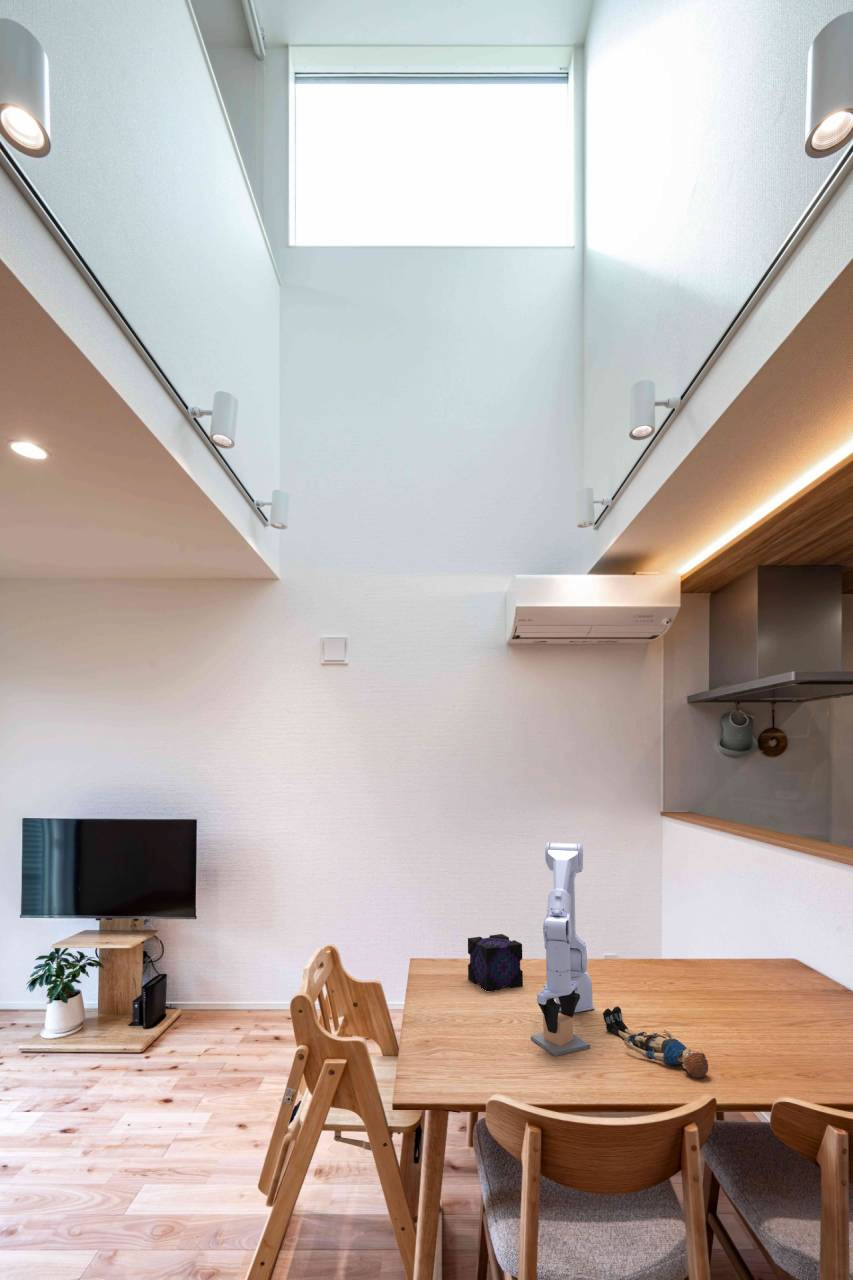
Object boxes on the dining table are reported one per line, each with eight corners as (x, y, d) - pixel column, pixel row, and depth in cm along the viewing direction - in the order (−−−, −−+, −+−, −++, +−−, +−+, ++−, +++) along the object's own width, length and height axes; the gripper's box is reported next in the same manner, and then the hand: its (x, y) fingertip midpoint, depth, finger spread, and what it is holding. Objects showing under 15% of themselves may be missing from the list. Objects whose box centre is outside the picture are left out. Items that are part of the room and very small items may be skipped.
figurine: (630, 1002, 182) (724, 1043, 155) (632, 1028, 181) (727, 1074, 154) (590, 1011, 176) (680, 1055, 150) (591, 1038, 175) (682, 1088, 149)
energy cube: (486, 992, 205) (486, 948, 206) (468, 979, 216) (467, 938, 217) (522, 986, 209) (522, 943, 211) (502, 974, 220) (502, 933, 222)
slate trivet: (564, 1032, 176) (564, 1028, 176) (590, 1048, 167) (590, 1044, 167) (530, 1039, 172) (530, 1036, 172) (555, 1055, 163) (554, 1052, 163)
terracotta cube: (556, 1033, 174) (555, 1011, 174) (573, 1039, 170) (572, 1017, 171) (543, 1039, 170) (543, 1017, 171) (560, 1045, 167) (560, 1023, 167)
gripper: (562, 958, 180) (563, 1015, 178) (526, 971, 170) (527, 1031, 168) (586, 965, 175) (587, 1023, 173) (550, 978, 165) (551, 1041, 163)
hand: (559, 1028), depth 170 cm, fingers open, 5 cm apart
